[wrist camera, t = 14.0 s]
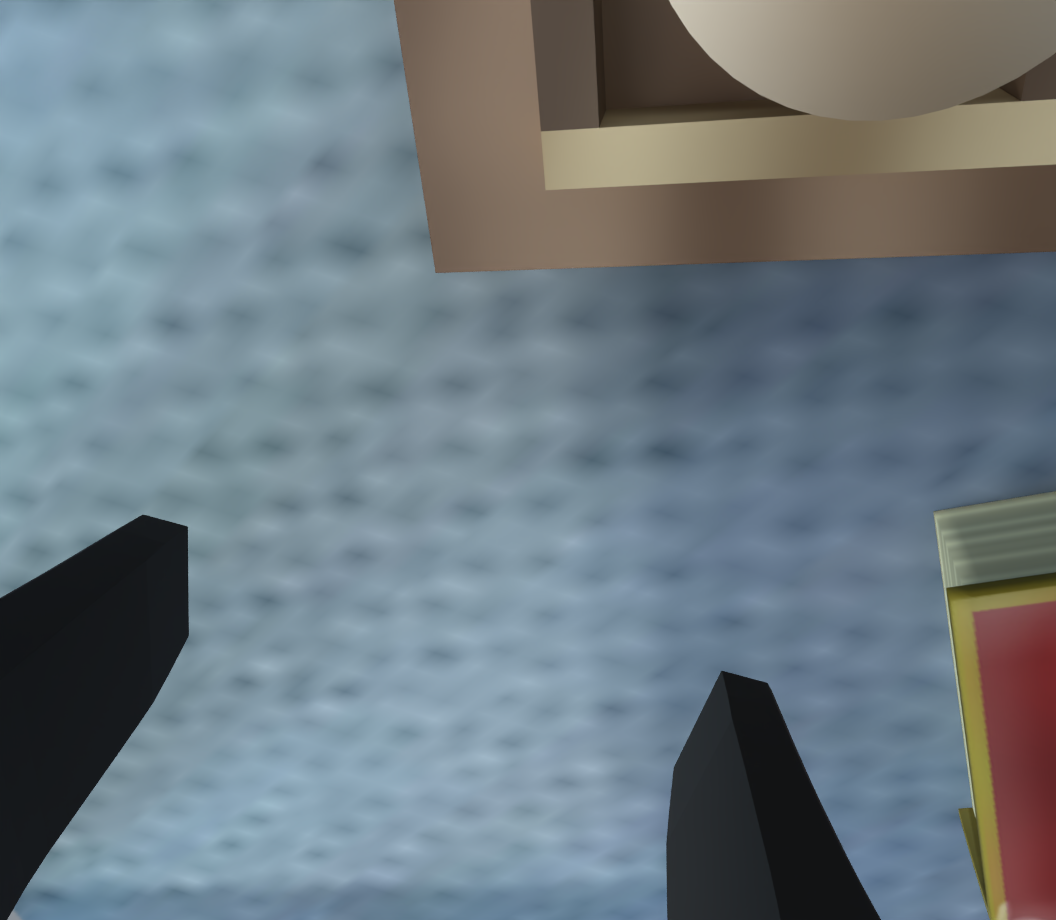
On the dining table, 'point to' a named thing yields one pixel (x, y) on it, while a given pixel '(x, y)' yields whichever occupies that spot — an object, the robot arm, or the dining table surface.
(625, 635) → the dining table surface
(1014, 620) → the hardcover book
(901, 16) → the ash peg
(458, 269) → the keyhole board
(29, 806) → the robot arm
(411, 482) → the dining table surface
